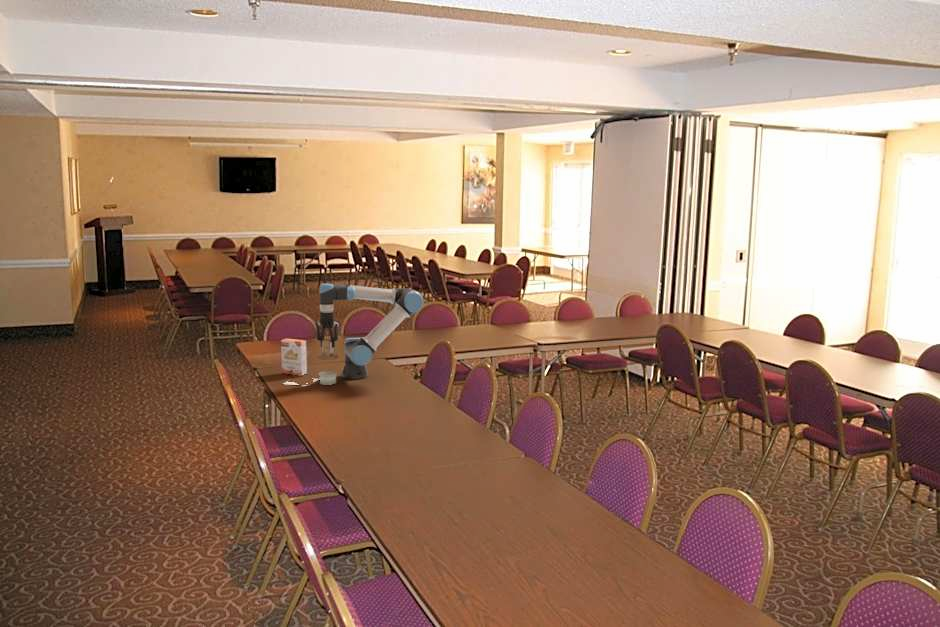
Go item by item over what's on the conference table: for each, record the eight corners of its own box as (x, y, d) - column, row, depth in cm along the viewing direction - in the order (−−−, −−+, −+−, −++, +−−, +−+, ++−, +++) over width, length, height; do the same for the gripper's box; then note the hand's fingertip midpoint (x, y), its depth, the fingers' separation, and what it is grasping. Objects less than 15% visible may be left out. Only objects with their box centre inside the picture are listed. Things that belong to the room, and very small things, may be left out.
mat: (294, 378, 449) (294, 377, 449) (320, 379, 446) (320, 379, 446) (282, 384, 434) (282, 383, 434) (308, 386, 431) (308, 385, 430)
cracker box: (281, 374, 458) (280, 339, 454) (287, 372, 463) (286, 337, 460) (301, 376, 453) (300, 341, 449) (307, 374, 458) (306, 339, 455)
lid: (322, 354, 441) (322, 337, 439) (340, 355, 438) (340, 338, 437) (314, 359, 430) (314, 341, 428) (333, 360, 428) (332, 342, 426)
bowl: (323, 381, 442) (323, 370, 441) (339, 382, 440) (339, 371, 439) (316, 385, 433) (315, 374, 432) (332, 387, 431) (332, 375, 430)
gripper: (309, 311, 428) (310, 353, 432) (338, 313, 424) (339, 355, 428) (315, 309, 435) (316, 350, 439) (343, 311, 432) (344, 352, 435)
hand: (327, 352), depth 434 cm, fingers closed on lid, 4 cm apart
